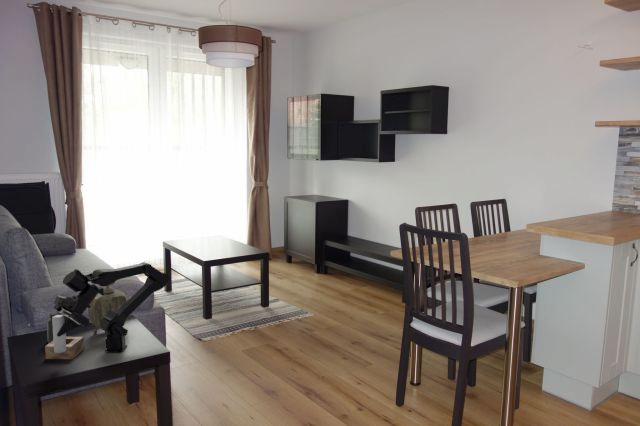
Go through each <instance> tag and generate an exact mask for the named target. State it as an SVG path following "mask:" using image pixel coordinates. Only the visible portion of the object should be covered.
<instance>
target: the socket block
mask: <svg viewBox="0 0 640 426" xmlns="http://www.w3.org/2000/svg"><path fill="white" fill-rule="evenodd" d="M83 350H85V338H84V336H66V351H65V352H62V353H55V352H54V341H52V342H50V343H49V342H48V344H46V345H45V346H44V352H45V360H73V359H75V357H76V356H78V355H79V354H80V353H81V352H82V351H83Z"/></svg>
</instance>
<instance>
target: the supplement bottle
mask: <svg viewBox="0 0 640 426" xmlns="http://www.w3.org/2000/svg"><path fill="white" fill-rule="evenodd" d="M56 311H57V310H56ZM56 311H52V312H50V313H49V315H48V317H49V319H48V320H47V321H46V326H47V327H46V331H47V342H48V344H49V343H50V342H52V341H53V333H52V330H53V324H52V317H53V316H56V315H57V313H56ZM57 312H58V311H57ZM65 336H66V337H67V333H65Z"/></svg>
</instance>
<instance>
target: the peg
mask: <svg viewBox="0 0 640 426" xmlns="http://www.w3.org/2000/svg"><path fill="white" fill-rule="evenodd" d="M64 323H65V317H64V315H56V316H53V317H52V324H53V341H54V352H55V353H62V352H65V351H66V337H67V335H66V336H65V334H63V335H61V336H60V337H58V336H57V333H58V332H59V330H60V329H61V327H62V326H63V324H64Z"/></svg>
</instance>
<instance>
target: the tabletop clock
mask: <svg viewBox="0 0 640 426" xmlns="http://www.w3.org/2000/svg"><path fill="white" fill-rule="evenodd" d="M115 283H116V281H115V282H114V283H112V284H110V285H107V286H103V287H102V288H103V291H104V295H100V294H97V296H96V297H95V298H94V299H93V301H92V302H91V303H90V306H91V307H90V308H87V311H88V312H87V313H88V319H89V322H90V323H91V324H92V325H93V326H95V327H96V328H95V329H94V330H93V334H97V333H98V330H99V329H101V327H100V321H101V320H102V318H103V317H102V316H105V315H106V314H107V313H108V311H110V310H112V311H116V310H118V309H119V308H120V307H121V306H123V305H124V304H125V303H126V302H127V301H128V296H127V295H126V293H124V292H122V291H120V290H119V289H115V288H114V287H112V285H115ZM127 320H128V318H127V319H126V321H127Z"/></svg>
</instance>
